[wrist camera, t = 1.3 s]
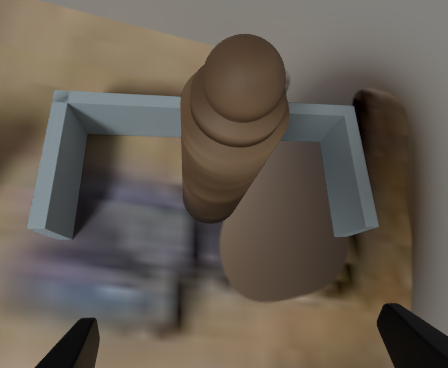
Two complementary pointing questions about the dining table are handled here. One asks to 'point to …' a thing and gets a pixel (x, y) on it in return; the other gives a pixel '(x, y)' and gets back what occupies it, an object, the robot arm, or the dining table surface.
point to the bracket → (171, 127)
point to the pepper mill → (230, 124)
